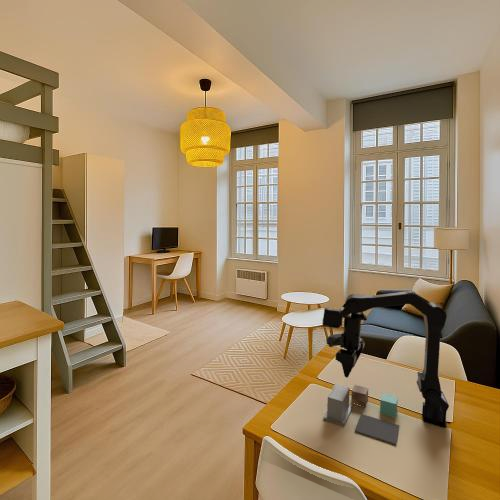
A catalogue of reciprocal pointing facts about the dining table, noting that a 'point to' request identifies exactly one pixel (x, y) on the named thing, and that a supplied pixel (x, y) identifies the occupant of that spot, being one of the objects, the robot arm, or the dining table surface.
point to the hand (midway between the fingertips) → (349, 371)
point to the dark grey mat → (377, 429)
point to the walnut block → (359, 395)
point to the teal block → (388, 405)
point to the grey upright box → (338, 405)
